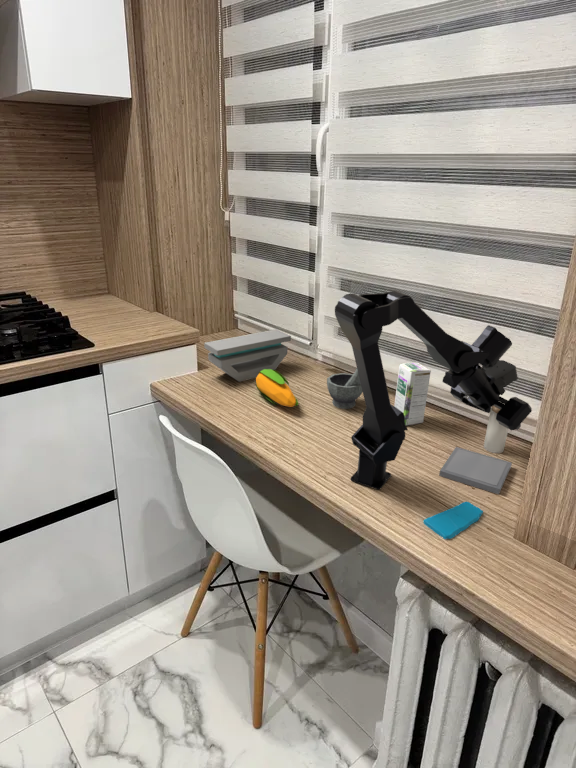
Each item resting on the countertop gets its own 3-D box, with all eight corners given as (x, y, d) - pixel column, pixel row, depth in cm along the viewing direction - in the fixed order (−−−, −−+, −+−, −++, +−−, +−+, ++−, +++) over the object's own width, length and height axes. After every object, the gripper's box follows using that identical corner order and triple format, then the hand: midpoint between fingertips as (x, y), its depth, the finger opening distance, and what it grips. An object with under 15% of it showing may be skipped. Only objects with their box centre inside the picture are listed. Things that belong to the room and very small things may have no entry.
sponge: (492, 517, 97) (468, 498, 101) (446, 538, 91) (422, 517, 96) (490, 523, 98) (466, 504, 102) (444, 545, 92) (421, 523, 96)
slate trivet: (498, 494, 105) (499, 489, 104) (439, 475, 111) (440, 470, 110) (510, 467, 114) (511, 462, 114) (455, 451, 120) (456, 446, 120)
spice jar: (501, 455, 119) (510, 413, 115) (481, 449, 121) (489, 408, 117) (505, 446, 123) (514, 406, 118) (486, 441, 125) (493, 401, 121)
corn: (272, 360, 149) (308, 385, 133) (274, 384, 152) (309, 412, 136) (248, 365, 146) (282, 392, 130) (250, 390, 149) (283, 419, 133)
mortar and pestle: (318, 402, 142) (320, 360, 138) (342, 393, 148) (345, 353, 143) (348, 417, 135) (352, 373, 130) (373, 407, 140) (377, 365, 136)
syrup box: (391, 416, 136) (397, 363, 130) (411, 413, 138) (418, 361, 132) (404, 426, 131) (410, 372, 125) (424, 423, 133) (432, 369, 127)
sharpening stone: (275, 361, 170) (276, 329, 165) (289, 369, 164) (290, 335, 160) (205, 377, 156) (204, 342, 152) (218, 386, 150) (217, 350, 146)
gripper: (534, 367, 103) (562, 409, 112) (468, 339, 119) (497, 377, 127) (496, 410, 103) (527, 449, 112) (435, 376, 119) (466, 412, 127)
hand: (503, 419), depth 120 cm, fingers open, 8 cm apart
